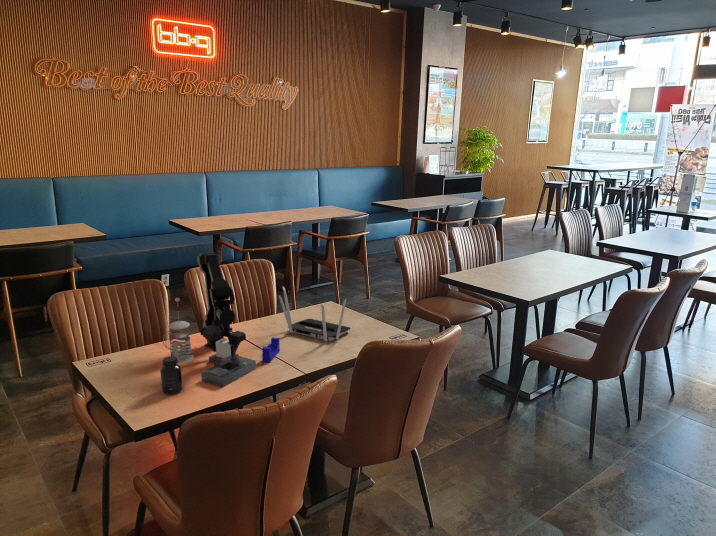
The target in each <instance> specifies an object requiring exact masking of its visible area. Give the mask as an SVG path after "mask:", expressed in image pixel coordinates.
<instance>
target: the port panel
mask: <svg viewBox="0 0 716 536" xmlns="http://www.w3.org/2000/svg"><path fill="white" fill-rule="evenodd" d="M255 370H257V361H256V359H255V360H254V359H251V358H248V357H244V356H237V355H235V356H233V357H231V358H229V359H227V360H225V361H223V362H220V363H218V364H216V363H215V365H212V366H210V367H208V368H207V369H204V370H203V371H201V381H202V382H205V383H207V384H212V385H214V386H217V387H221V388H224V387H227V386H228V385H230V384H232V383H233V382H235V381H237V380H239V379H241V378H243V377H245V376H246V375H248V374H250V373H252V372H253V371H255Z"/></svg>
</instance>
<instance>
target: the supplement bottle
mask: <svg viewBox="0 0 716 536" xmlns="http://www.w3.org/2000/svg"><path fill="white" fill-rule="evenodd" d="M159 371H160V381H161V391H162V393H163V394H164V395H167V396H168V395H169V396H172V395H177V394H179V393H180V392H182V391H183V389H184V388H183V375H182V374H183V373H182V366H181V364H180V363H178V361H177V357H175V356H171V355H169V356H166V357H163V358H162V366H161V368H160V370H159Z"/></svg>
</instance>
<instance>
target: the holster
mask: <svg viewBox="0 0 716 536" xmlns="http://www.w3.org/2000/svg"><path fill="white" fill-rule="evenodd" d="M235 355H237V356H239V353H237V352H236V353H235ZM235 355H234V356H235ZM229 358H231V356H230V357H228V358H226V359H221V358H217V357H216V353H214V354H212V355H210V356H208V361H209V362H210V363H213V364H215V365H216V364H218V363H220V362H223V361H225V360H227V359H229Z"/></svg>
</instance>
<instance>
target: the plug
mask: <svg viewBox="0 0 716 536" xmlns="http://www.w3.org/2000/svg"><path fill="white" fill-rule="evenodd" d="M228 342H229V340H228V338H224V339H221V340H219V341H217V342H216V352H215V354H216V357H217V358H221V359H226V358H228V357H230V356H231V348H230V344H228Z"/></svg>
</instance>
